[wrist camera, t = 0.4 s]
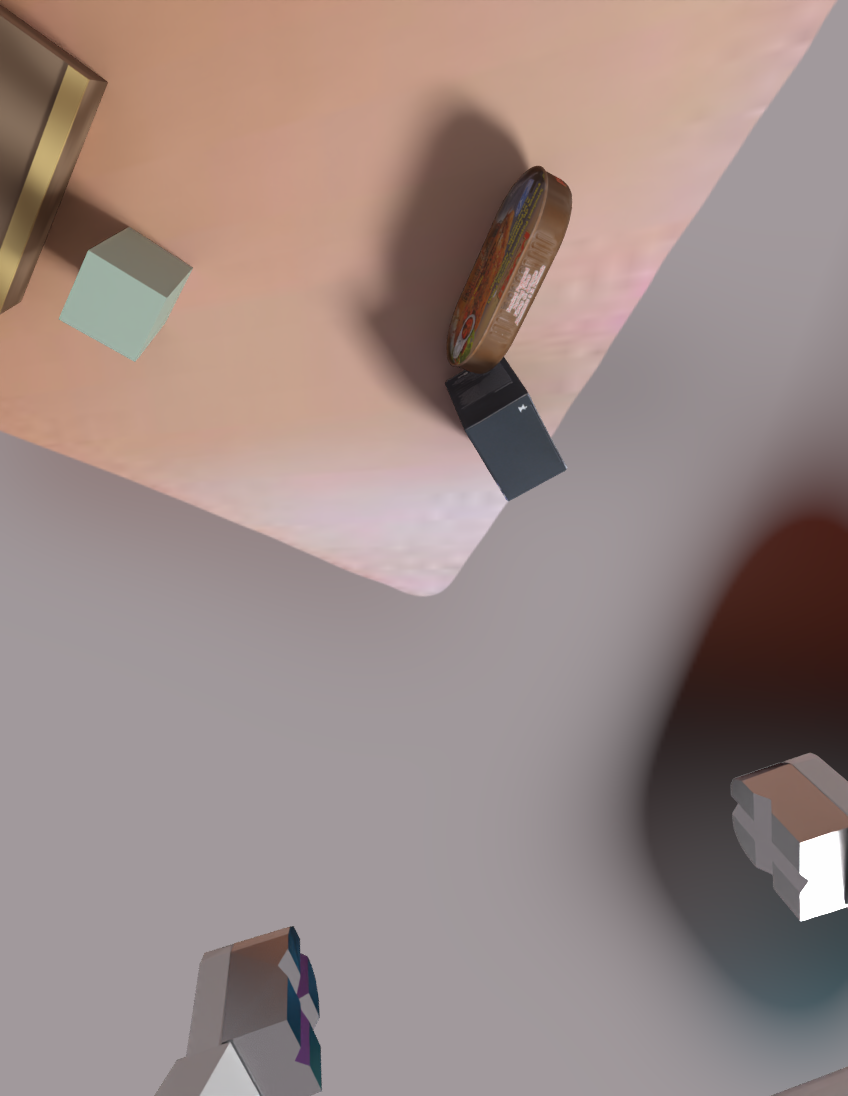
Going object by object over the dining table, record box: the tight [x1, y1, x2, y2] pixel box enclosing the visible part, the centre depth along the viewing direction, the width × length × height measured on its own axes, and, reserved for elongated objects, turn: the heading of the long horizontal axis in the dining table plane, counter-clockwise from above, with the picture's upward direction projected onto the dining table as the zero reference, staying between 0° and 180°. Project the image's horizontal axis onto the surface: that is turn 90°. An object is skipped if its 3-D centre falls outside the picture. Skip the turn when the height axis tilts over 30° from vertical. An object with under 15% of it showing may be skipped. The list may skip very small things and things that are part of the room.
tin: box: [447, 166, 572, 374], centre depth 50 cm, size 15×3×8 cm, turn 156°
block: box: [59, 227, 193, 362], centre depth 46 cm, size 5×5×10 cm
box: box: [445, 357, 567, 501], centre depth 55 cm, size 8×6×11 cm
